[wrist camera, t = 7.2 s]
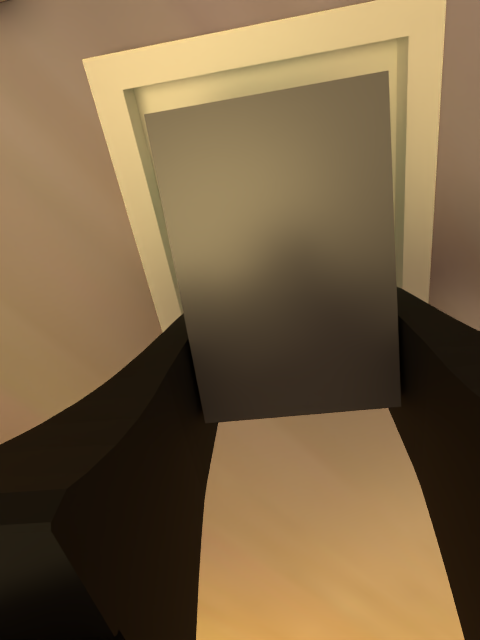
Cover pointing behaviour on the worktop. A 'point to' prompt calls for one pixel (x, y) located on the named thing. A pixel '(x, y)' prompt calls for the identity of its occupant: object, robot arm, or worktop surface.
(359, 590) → the worktop surface
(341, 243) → the tall grey-green carton
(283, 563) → the worktop surface
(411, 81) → the tray
